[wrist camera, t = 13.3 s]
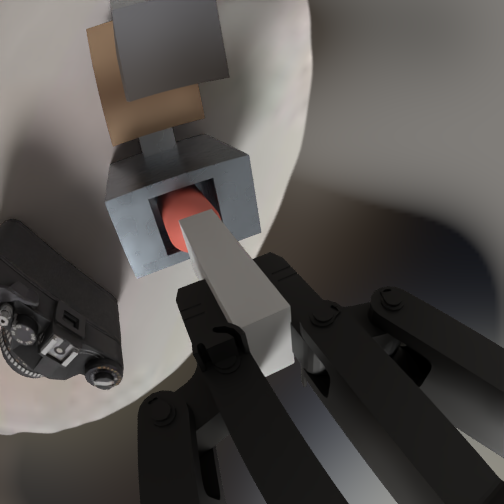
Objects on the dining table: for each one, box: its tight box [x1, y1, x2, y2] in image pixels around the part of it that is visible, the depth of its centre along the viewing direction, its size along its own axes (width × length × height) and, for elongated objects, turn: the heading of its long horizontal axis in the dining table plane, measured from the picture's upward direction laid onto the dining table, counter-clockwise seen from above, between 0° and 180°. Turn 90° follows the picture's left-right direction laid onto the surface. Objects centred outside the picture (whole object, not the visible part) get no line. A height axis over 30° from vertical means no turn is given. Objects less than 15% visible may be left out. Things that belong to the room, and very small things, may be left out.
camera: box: [0, 219, 124, 390], centre depth 19 cm, size 14×11×10 cm
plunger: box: [157, 184, 221, 253], centre depth 17 cm, size 3×3×4 cm
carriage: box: [86, 0, 229, 146], centre depth 12 cm, size 8×6×15 cm
